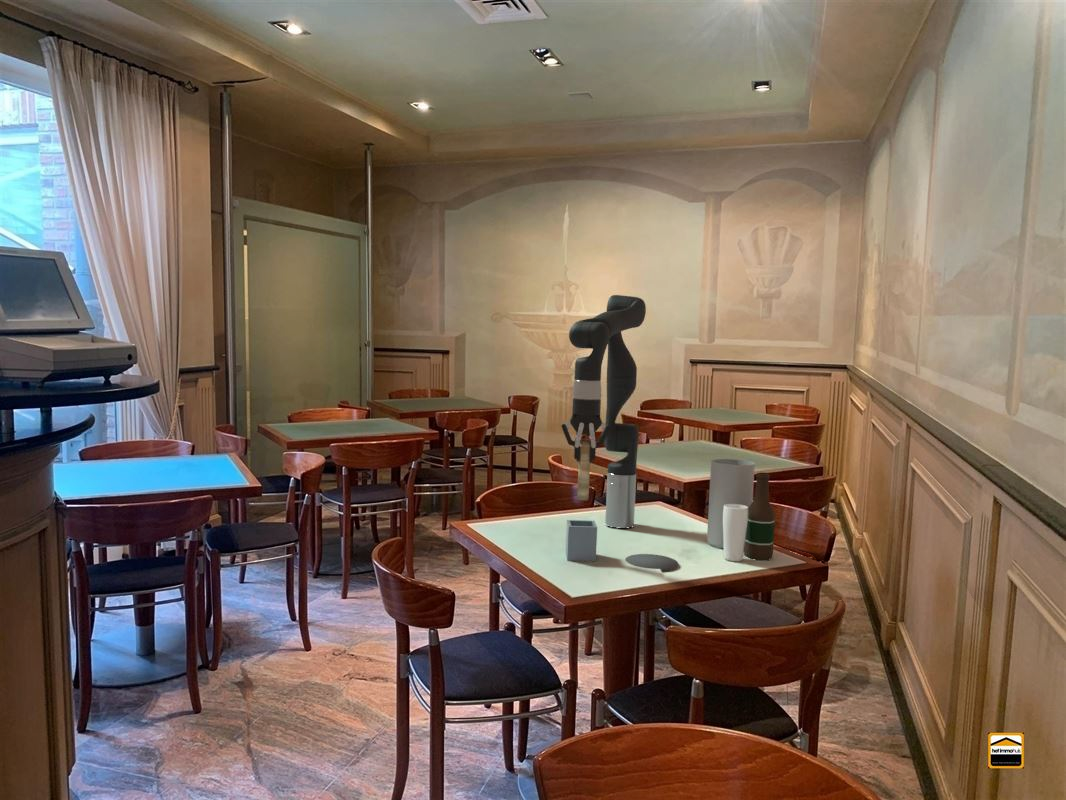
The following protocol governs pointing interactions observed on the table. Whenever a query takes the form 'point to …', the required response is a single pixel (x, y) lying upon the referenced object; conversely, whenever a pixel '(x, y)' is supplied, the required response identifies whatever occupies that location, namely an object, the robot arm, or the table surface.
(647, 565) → the gray disc
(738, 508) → the drinking glass
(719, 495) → the cylinder vase
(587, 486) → the beech dowel
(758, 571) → the table surface
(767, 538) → the beer bottle
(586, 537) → the deep cup
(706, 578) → the table surface
